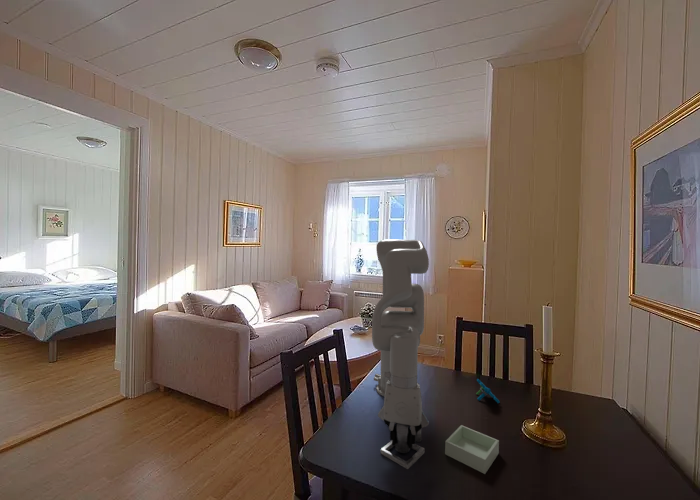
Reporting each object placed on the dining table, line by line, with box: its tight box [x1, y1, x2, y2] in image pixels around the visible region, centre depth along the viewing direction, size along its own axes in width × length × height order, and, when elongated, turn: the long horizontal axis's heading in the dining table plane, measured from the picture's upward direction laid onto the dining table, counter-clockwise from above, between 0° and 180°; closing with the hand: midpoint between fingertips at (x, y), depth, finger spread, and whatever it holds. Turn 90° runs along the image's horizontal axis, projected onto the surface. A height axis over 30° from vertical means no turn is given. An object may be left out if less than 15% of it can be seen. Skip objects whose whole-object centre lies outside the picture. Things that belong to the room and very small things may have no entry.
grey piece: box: [380, 428, 425, 470], centre depth 86 cm, size 9×14×6 cm, turn 137°
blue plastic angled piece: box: [475, 378, 501, 404], centre depth 114 cm, size 11×6×10 cm
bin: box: [444, 424, 500, 475], centre depth 84 cm, size 11×11×4 cm
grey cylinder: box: [394, 423, 411, 454], centre depth 84 cm, size 4×4×9 cm
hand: (402, 443), depth 84 cm, fingers closed on grey cylinder, 4 cm apart
